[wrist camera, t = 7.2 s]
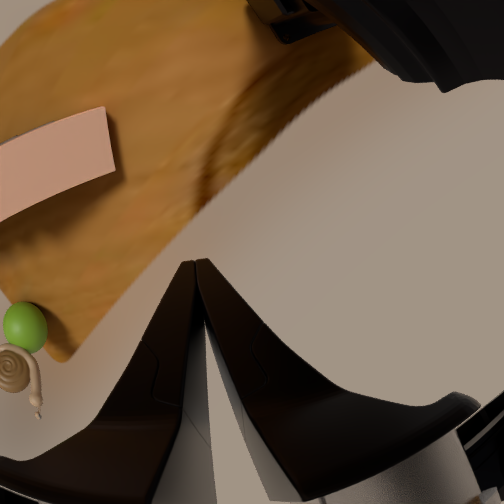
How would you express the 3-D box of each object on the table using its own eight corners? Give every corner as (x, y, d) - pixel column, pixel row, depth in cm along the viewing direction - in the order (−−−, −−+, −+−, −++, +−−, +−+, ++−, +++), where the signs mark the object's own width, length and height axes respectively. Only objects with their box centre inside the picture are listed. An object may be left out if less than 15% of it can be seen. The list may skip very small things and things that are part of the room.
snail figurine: (61, 331, 25) (45, 427, 16) (15, 316, 23) (-10, 407, 13) (59, 301, 23) (35, 409, 14) (9, 285, 20) (-27, 384, 11)
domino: (104, 106, 13) (-30, 164, 9) (115, 170, 16) (-8, 226, 11) (101, 106, 14) (-25, 159, 10) (111, 166, 17) (-5, 217, 12)
